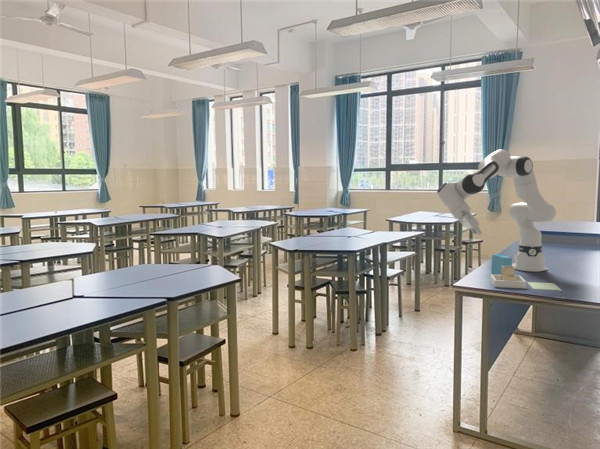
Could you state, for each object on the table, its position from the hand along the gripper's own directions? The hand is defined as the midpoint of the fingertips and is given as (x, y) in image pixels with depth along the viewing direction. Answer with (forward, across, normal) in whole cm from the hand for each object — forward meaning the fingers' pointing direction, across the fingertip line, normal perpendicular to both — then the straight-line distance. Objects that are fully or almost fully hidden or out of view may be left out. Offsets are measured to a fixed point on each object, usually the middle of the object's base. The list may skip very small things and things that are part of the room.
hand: (478, 234), depth 215 cm
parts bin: (+29, +2, +4) cm, 29 cm away
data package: (+29, +21, +1) cm, 36 cm away
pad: (+39, 0, -9) cm, 40 cm away
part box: (+28, +2, +3) cm, 29 cm away
